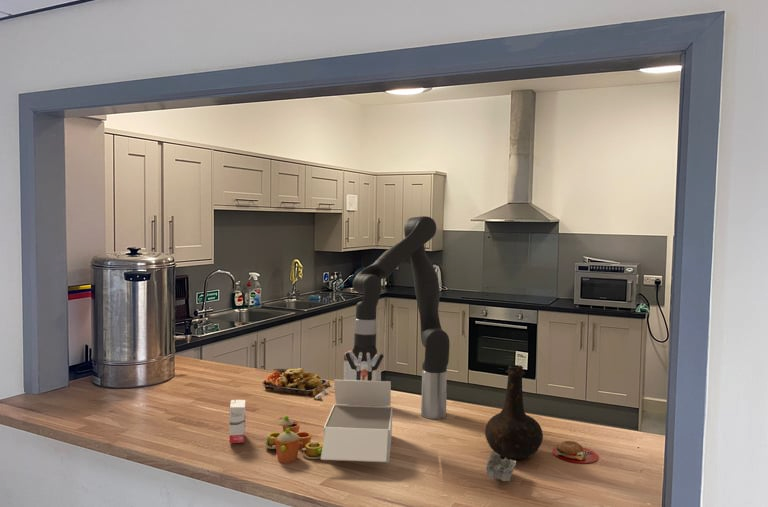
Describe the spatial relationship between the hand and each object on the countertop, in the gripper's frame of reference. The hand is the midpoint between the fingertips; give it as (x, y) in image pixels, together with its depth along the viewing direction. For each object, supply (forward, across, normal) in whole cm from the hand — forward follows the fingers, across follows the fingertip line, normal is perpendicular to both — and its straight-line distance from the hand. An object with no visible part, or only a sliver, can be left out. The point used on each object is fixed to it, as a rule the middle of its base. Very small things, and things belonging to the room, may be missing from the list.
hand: (363, 381), depth 192 cm
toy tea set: (+19, +21, +16) cm, 33 cm away
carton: (+18, 0, +14) cm, 22 cm away
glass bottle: (+18, -49, +14) cm, 54 cm away
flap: (+7, 0, +3) cm, 8 cm away
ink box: (+18, +41, +10) cm, 46 cm away
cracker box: (+17, +3, -30) cm, 34 cm away
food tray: (+17, +33, -48) cm, 61 cm away
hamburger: (+18, -69, +12) cm, 72 cm away
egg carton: (+19, -40, +30) cm, 54 cm away
